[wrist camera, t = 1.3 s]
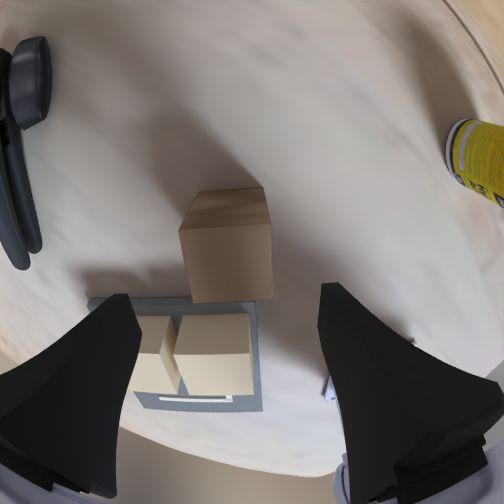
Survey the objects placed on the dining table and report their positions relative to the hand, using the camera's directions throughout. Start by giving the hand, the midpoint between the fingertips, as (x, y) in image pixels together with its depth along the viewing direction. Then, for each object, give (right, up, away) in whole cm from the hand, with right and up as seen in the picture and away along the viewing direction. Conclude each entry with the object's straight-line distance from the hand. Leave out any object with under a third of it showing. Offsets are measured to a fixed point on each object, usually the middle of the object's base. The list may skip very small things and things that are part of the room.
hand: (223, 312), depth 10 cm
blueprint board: (-5, -8, +15) cm, 18 cm away
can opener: (-16, +10, +5) cm, 20 cm away
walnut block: (0, +4, +8) cm, 9 cm away
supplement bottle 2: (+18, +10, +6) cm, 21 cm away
